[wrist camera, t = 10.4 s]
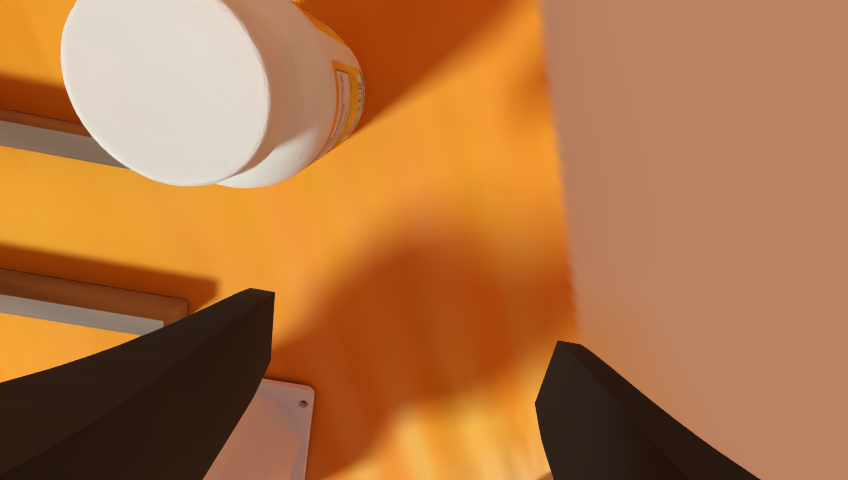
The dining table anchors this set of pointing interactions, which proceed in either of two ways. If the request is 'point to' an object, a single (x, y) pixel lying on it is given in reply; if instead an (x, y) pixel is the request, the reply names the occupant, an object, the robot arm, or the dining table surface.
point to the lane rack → (66, 296)
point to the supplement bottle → (210, 87)
